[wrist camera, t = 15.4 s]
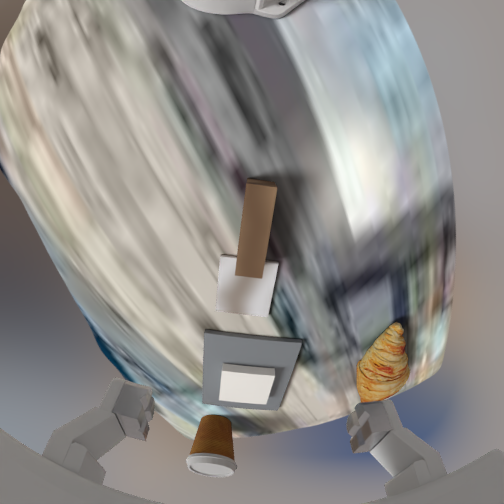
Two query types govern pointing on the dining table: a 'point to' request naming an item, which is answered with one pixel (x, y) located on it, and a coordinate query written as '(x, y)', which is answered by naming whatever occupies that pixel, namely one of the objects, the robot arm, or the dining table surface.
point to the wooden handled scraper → (250, 257)
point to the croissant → (383, 366)
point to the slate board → (247, 363)
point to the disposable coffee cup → (213, 448)
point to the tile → (246, 383)
